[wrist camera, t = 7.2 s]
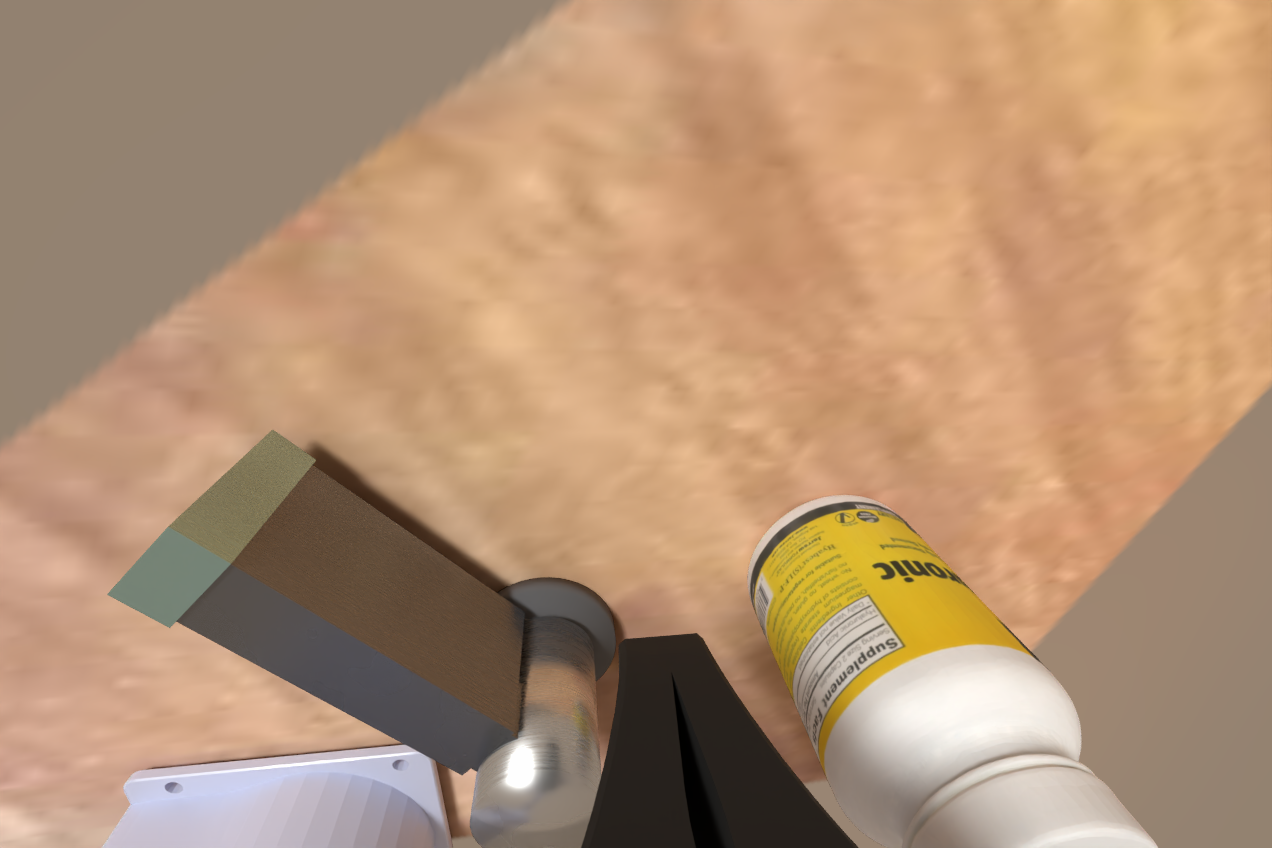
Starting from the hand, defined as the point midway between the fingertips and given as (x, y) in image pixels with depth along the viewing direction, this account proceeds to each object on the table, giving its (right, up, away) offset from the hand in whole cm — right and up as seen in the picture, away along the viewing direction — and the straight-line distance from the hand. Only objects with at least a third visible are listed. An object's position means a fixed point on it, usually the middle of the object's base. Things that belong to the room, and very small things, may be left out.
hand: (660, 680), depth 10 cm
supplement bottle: (+6, 0, +9) cm, 11 cm away
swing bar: (-6, 0, +6) cm, 9 cm away
